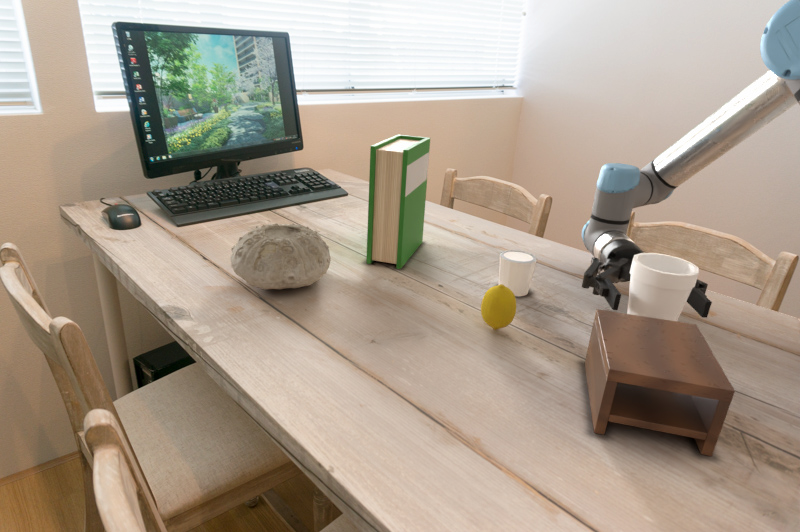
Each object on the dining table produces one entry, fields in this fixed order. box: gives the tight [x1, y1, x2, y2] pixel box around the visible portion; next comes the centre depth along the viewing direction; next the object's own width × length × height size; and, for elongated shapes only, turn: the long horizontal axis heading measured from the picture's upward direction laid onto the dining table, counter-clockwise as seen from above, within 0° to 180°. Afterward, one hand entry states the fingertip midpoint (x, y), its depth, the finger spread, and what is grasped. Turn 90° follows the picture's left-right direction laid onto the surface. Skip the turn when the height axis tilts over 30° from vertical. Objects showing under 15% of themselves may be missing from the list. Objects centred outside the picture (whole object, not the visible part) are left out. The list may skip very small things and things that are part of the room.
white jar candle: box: [497, 249, 538, 297], centre depth 100 cm, size 7×7×7 cm
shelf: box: [584, 308, 736, 457], centre depth 68 cm, size 13×16×9 cm
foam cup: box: [626, 252, 700, 322], centre depth 84 cm, size 10×9×13 cm
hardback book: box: [365, 134, 431, 270], centre depth 112 cm, size 18×7×24 cm, turn 163°
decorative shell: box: [229, 223, 332, 291], centre depth 97 cm, size 18×18×10 cm
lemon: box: [480, 284, 517, 331], centre depth 84 cm, size 6×6×8 cm
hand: (661, 306), depth 82 cm, fingers open, 13 cm apart
